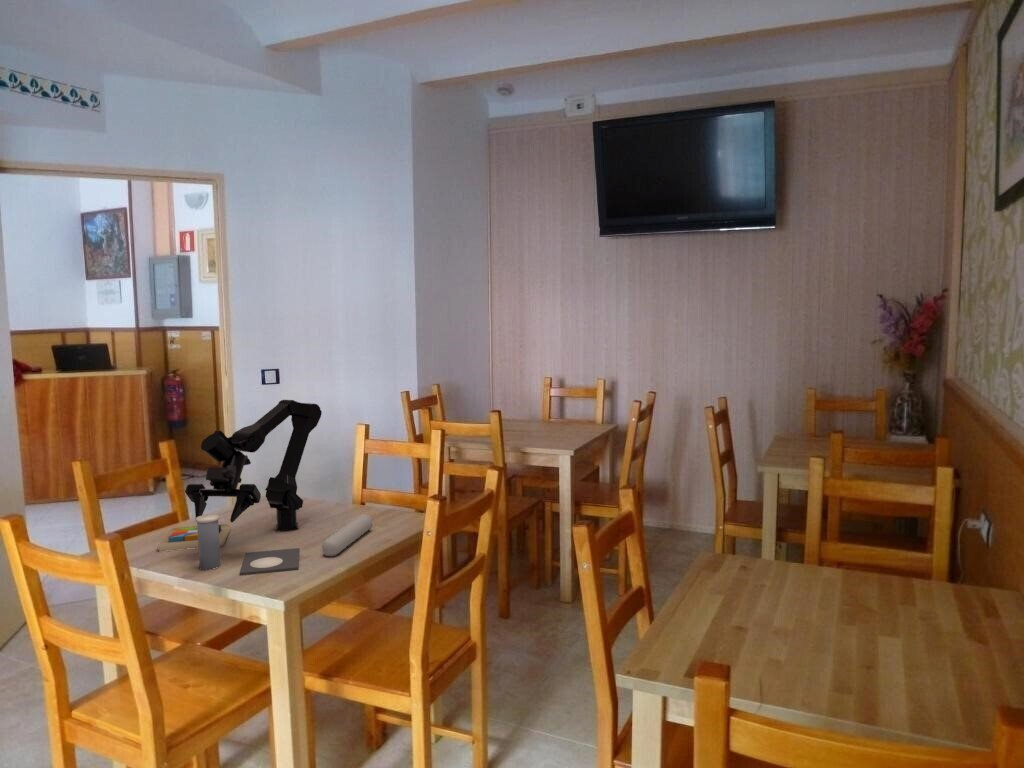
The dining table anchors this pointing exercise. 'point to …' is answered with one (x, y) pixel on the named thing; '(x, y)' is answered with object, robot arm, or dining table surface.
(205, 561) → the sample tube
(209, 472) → the robot arm
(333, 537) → the tube
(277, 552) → the mat
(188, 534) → the wooden puzzle
